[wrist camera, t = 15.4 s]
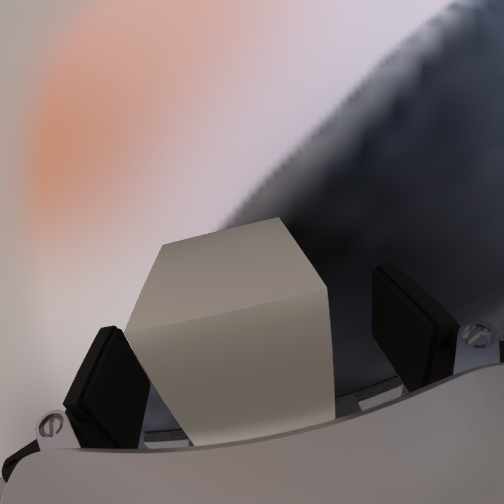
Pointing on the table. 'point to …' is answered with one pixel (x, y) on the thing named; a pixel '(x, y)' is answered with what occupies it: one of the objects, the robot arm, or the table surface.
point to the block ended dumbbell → (237, 334)
